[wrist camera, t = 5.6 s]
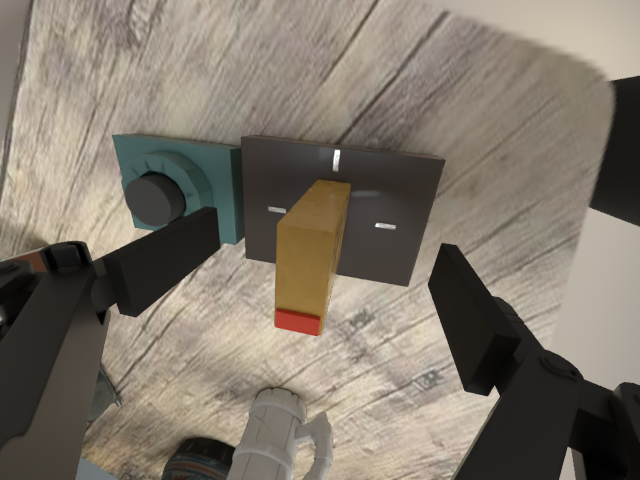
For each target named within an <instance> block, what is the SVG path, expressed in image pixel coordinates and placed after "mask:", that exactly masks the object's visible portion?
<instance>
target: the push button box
mask: <svg viewBox="0 0 640 480" xmlns="http://www.w3.org/2000/svg"><path fill="white" fill-rule="evenodd" d="M112 137H113V141H114V145H115V149H116V153H117V157H118V161H119V165H120V170H121V174H122V181H121V182H122V187H123V191H124V195H125V189H126V187H127V185H128V184H129V182H131V181H132V180H134V179H137V178H141V177H146V176H150V175H154V174H160V175H164V176H166V177H169V178H170V179H172V180H173V181H174V182H175V183H176V184H177V185H178V186H179V187H180V189H181V190H182V192H183V195H184V198H185V210H184V212H183V214H182V215H181V216H180V217H178V218H177V219H175V220H173V221H171V222H168V223H166V224H164V225H162V226H156V227H155V226H149V225H146V224H144V223H143V222H141V221H140V220H138V219H137V218H136V217H135V216H134V215H133V214H132V212H131V214H132V218H133V222H134V226H135V228H140V229H146V230H152V231H156V230H158V229H160V228H162V227H164V226H166V225H168V224H170V223H172V222H174V221H176V220H178V219H180V218H182V217H184V216H186V215H188V214H190V213H192V212H195V211H197V210H199V209H201V208H203V207H205V206H208V207H214V208H217V214H218V225H219V236H220V242H222V243H228V244H234V245H236V244H237V243H238V242H239V241H241V240H242V239H243V238H244V237H245V225H244V201H243V177H242V153H241V147H239V146H231V145H223V144H214V143H206V142H198V141H189V140H181V139H173V138H164V137H156V136H148V135H139V134H123V135H112Z"/></svg>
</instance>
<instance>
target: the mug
mask: <svg viewBox="0 0 640 480" xmlns="http://www.w3.org/2000/svg"><path fill="white" fill-rule="evenodd" d="M306 412H307V410H306V406H305V404H304V402H303V401H302V400H301V399H300V398H298V396H297V395H295V394H292V393H291V392H290V391H287V390H284V389H280V388H274V390H272V389H266V390H263V391H261V392H260V393H259V394H258V396H257V398H256V399H255V400H254V401H253V403H252V404H251V407H250V410H249V420H248V423H247V425H246V428H245V431H244V433H243V436H242V439H241V442H240V443H239V444H238V445H237V447H236V449H235V452H234V454H233V458H232V460H233V463H232V466H231V469H230V471H229V474H228V477H227V479H226V480H291V479H292V477H293V473H294V468H295V465H294V461H295V457H296V453H297V449H298V445H299V444H300V443H303V442H306V441H308V440H310V439H313V440H314V442H315V445H316V451H315V457H314V460H315V461H314V463H313V465H312V467H311V469H310V471H309V472H307V474H306V475H305V477H304V478H303V480H325V478H326V475H327V473H328V470H329V467H330V466H331V465H332V462H333V452H332V444H333V433H332V428H331V424H330V423H329V422H328V417H327V414H326V413H325V412H321V413H320V414H319V415H318V416H317V417H316V418H315V419H314V420H312V421H311V422H309V423H307V418H306Z"/></svg>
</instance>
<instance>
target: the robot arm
mask: <svg viewBox="0 0 640 480" xmlns="http://www.w3.org/2000/svg"><path fill="white" fill-rule="evenodd" d="M220 248H221V247H220V236H219V225H218V214H217V208H214V207H208V206H205V207H203V208H201V209H199V210H197V211H195V212H192V213H190V214H188V215H186V216H184V217H182V218H180V219H178V220H176V221H174V222H172V223H170V224H168V225H166V226H164V227H162V228H160V229H158V230H156V231H154V232H152V233H150V234H148V235H146V236H144V237H142V238H140V239H137V240H135V241H133V242H131V243H129V244H127V245H125V246H123V247H121V248H120V249H117V250H115V251H113V252H111V253H109V254H107V255H105V256H103V257H101V258H99V259H97V260H95V261H92V258H91V256H90V253H89V250H88V247H87V244H86V243H84V242H82V241H67V242H61V243H56V244H53V245H50V246H47V247H45V248H43V249H41V250H40V251H39V254H40V256H41V259H42V261H43V263H44V265H45V268H46V270H47V271H34V269H33V267H32V264H31V262H30V261H28V260H7V261H4V262H3V261H2V262H0V317H1V318H2V320H1V321H0V480H75V478H76V474H77V469H78V464H79V460H80V455H81V450H82V446H83V441H84V437H85V432H86V427H87V423H88V418H89V413H90V409H91V404H92V400H93V395H94V390H95V386H96V381H97V376H98V372H99V367H100V362H101V358H102V353H103V349H104V344H105V339H106V335H107V330H108V325H109V321H110V316H111V315H110V311H109V307H111V306H112V305H114V304H115V303H117V306H118V309H119V312H120V314H123V315H127V316H132V317H137V316H139V315H140V314H141V313H142V312H143V311H145V310H146V309H147V308H148V307H149V306H151V305H152V304H153V303H154V302H156V301H157V300H158V299H159V298H160V297H162V296H163V295H164V294H165V293H166V292H168V291H169V290H170V289H171V288H173V287H174V286H175V285H176V284H177V283H179V282H180V281H181V280H182V279H184V278H185V277H186V276H187V275H188V274H190V273H191V272H192V271H193V270H194V269H196V268H197V267H198V266H199V265H201V264H202V263H203V262H204V261H205V260H207V259H208V258H209V257H210V256H211V255H213V254H214V253H215V252H216V251H218V250H219V249H220ZM428 287H429V290H430V293H431V296H432V299H433V301H434V304H435V307H436V310H437V313H438V316H439V319H440V322H441V324H442V327H443V330H444V333H445V336H446V339H447V342H448V345H449V347H450V350H451V353H452V356H453V359H454V362H455V365H456V368H457V370H458V373H459V376H460V379H461V382H462V385H463V388H464V391H466V392H470V393H475V394H479V395H483V396H488V395H489V394H490V392H491V390H492V389H493V387H494V385H495V387H496V389H497V391H498V393H499V395H500V398H499V399H498V401H497V402H496V404H495V405H494V407H493V409H492V410H491V412H490V413H489V415H488V417H487V419H486V421H485V422H484V424H483V426H482V428H481V429H480V431H479V433H478V434H477V436H476V438H475V439H474V441H473V443H472V444H471V446H470V448H469V449H468V451H467V453H466V454H465V456H464V458H463V460H462V461H461V463H460V465H459V466H458V468H457V470H456V471H455V473H454V475H453V476H452V478H451V480H559V477H560V474H561V470H562V466H563V462H564V458H565V455H566V451H567V447H570V448H571V450H572V457H573V463H574V470H575V476H576V480H640V385H637V384H635V383H628V382H624V383H621V384H619V385H618V387H617V388H616V389H615V390H614V391H612V390H609V389H607V388H604V387H602V386H599V385H597V384H594V383H592V382H589V381H587V380H584V378H583V376H582V374H581V373H580V372H579V370H578V369H577V368H576V367H575V366H574V365H572V364H571V363H570V362H569V361H567V360H565V359H564V358H562V357H561V356H559V355H557V354H555V353H553V352H551V351H548V350H545V349H544V348H543V347H542V346H541V344H540V343H539V342H538V340H537V339H536V338H535V336H534V335H533V334H532V332H531V331H530V330H529V329H528V327H527V326H526V325H524V322H523V321H522V319H521V318H520V317H518V314H517V313H516V312H515V310H514V309H513V308H512V306H510V305H509V304H508V303H507V302H505V301H504V300H503V299H502V298H500V297H494V296H492V295H491V294H490V292H489V291H488V290H487V288H486V287H485V285H484V284H483V282H482V281H481V280H480V278H479V277H478V275H477V274H476V272H475V271H474V270H473V268H472V267H471V265H470V264H469V262H468V261H467V260H466V258H465V257H464V255H463V254H462V252H461V251H460V250H459V248H458V247H457V245H452V244H446V243H441V246H440V249H439V252H438V255H437V258H436V261H435V264H434V267H433V270H432V273H431V276H430V279H429V282H428Z"/></svg>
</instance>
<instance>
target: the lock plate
mask: <svg viewBox="0 0 640 480" xmlns="http://www.w3.org/2000/svg"><path fill="white" fill-rule="evenodd" d="M241 153H242V177H243V201H244V225H245V249H246V258H247V259H252V260H258V261H264V262H269V263H275V264H276V244H277V223H278V222H279V221H280V220H281V219H282V218H283V217H284V216H285V215H286V214H287V212H288V211H289V210H290V209H291V208H292V207H293V206H294V205H295V204H296V203H297V202H298V201H299V200H300V198H301V197H302V196H303V195H304V194H305V193H306V192H307V191H308V190H309V189H310V188H311V187H312V185H313V184H314V183H315V182H316V181H317V180H318V179H321V180H328V181H335V182H342V183H350V184H351V188H350V195H349V201H348V208H347V214H346V221H345V227H344V234H343V240H342V247H341V253H340V257H339V262H338V266H337V270H336V274H337V275H343V276H349V277H354V278H360V279H366V280H371V281H377V282H383V283H388V284H394V285H400V286H405V287H408V286H409V283H410V279H411V276H412V272H413V269H414V266H415V262H416V259H417V255H418V252H419V249H420V245H421V242H422V239H423V235H424V232H425V228H426V225H427V222H428V218H429V215H430V212H431V208H432V205H433V201H434V198H435V195H436V191H437V188H438V185H439V181H440V178H441V174H442V171H443V168H444V164H445V160H444V159H442V158H440V157H438V156H435V155H426V154H417V153H409V152H400V151H391V150H382V149H373V148H364V147H356V146H347V145H338V144H329V143H320V142H311V141H303V140H294V139H285V138H276V137H267V136H258V135H252V136H242V137H241Z"/></svg>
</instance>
